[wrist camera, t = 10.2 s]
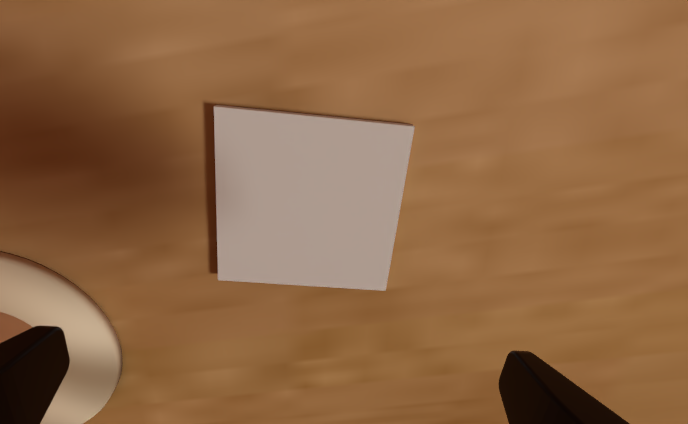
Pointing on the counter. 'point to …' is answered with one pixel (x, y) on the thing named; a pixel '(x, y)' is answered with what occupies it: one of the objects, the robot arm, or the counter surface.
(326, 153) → the pad
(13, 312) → the coaster
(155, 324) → the counter surface
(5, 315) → the spice jar
